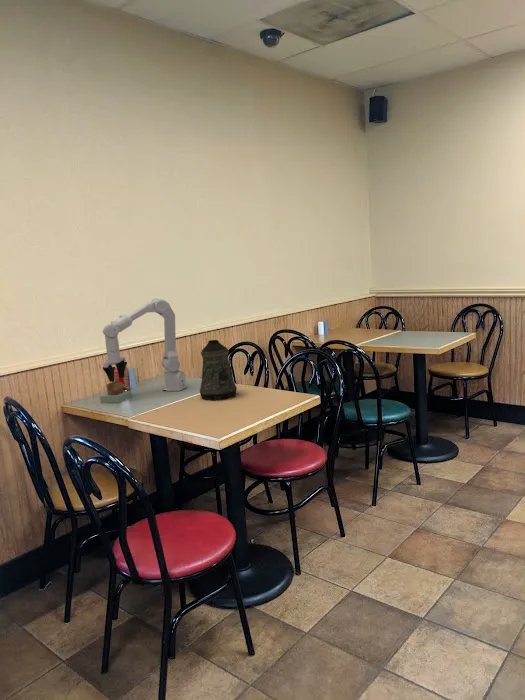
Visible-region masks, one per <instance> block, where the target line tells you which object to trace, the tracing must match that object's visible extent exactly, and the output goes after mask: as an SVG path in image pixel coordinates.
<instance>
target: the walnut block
mask: <svg viewBox="0 0 525 700" xmlns="http://www.w3.org/2000/svg"><path fill="white" fill-rule="evenodd" d="M106 391H107V393H108V395H118V394H121V393H123V385H122V382H115V381H114V382H108V383H107V384H106Z"/></svg>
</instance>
